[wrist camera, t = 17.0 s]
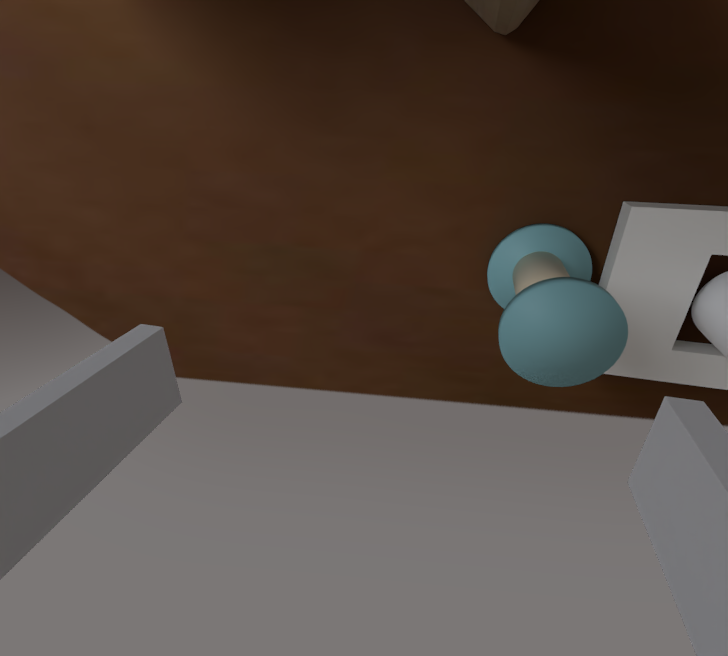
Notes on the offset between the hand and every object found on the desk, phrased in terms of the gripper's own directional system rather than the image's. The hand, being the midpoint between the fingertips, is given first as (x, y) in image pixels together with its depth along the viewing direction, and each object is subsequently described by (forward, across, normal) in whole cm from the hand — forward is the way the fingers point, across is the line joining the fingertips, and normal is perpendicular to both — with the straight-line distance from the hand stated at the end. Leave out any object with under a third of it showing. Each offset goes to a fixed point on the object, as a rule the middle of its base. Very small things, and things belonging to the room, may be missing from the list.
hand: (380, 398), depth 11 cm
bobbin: (+27, +8, -5) cm, 28 cm away
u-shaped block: (+27, +20, -6) cm, 34 cm away
